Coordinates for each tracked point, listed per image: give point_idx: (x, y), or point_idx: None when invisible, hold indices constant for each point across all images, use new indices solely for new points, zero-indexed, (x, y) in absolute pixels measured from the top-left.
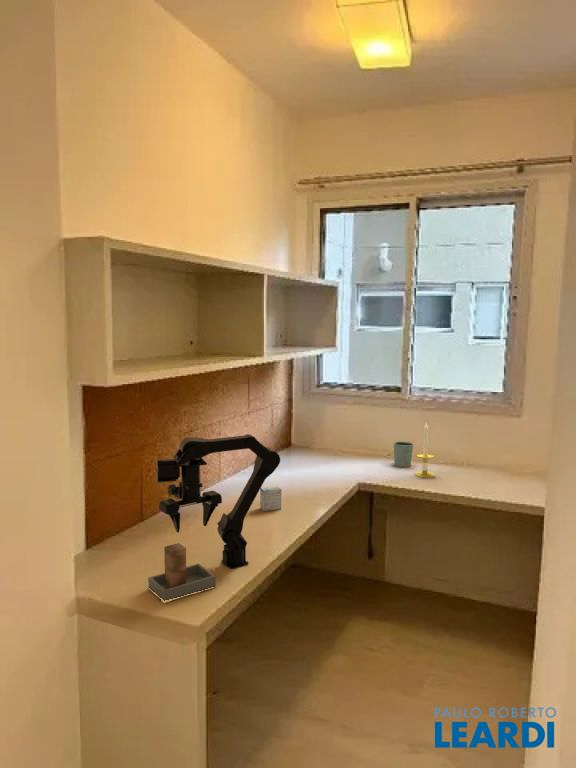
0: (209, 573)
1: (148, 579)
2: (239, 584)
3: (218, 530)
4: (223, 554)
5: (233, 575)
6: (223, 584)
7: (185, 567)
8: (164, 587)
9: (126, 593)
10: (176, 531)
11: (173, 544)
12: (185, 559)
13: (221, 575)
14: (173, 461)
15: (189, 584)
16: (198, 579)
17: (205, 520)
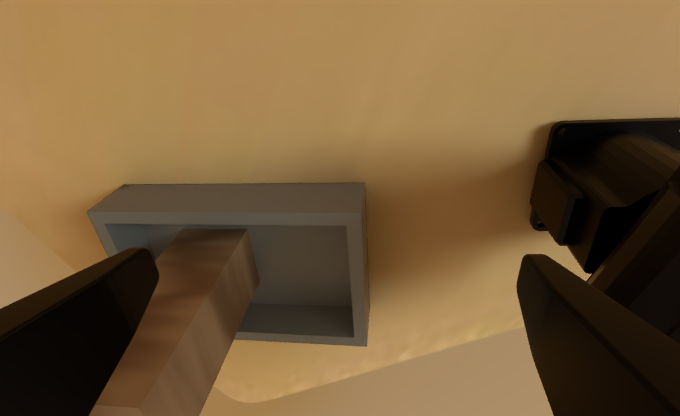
0: (356, 319)
1: (93, 207)
2: (459, 332)
3: (664, 250)
4: (557, 197)
5: (493, 271)
6: (409, 304)
7: (222, 356)
8: (180, 231)
9: (35, 167)
10: (131, 253)
11: (98, 407)
12: (204, 396)
13: (450, 244)
14: None
15: (249, 337)
16: (330, 249)
17: (546, 370)
